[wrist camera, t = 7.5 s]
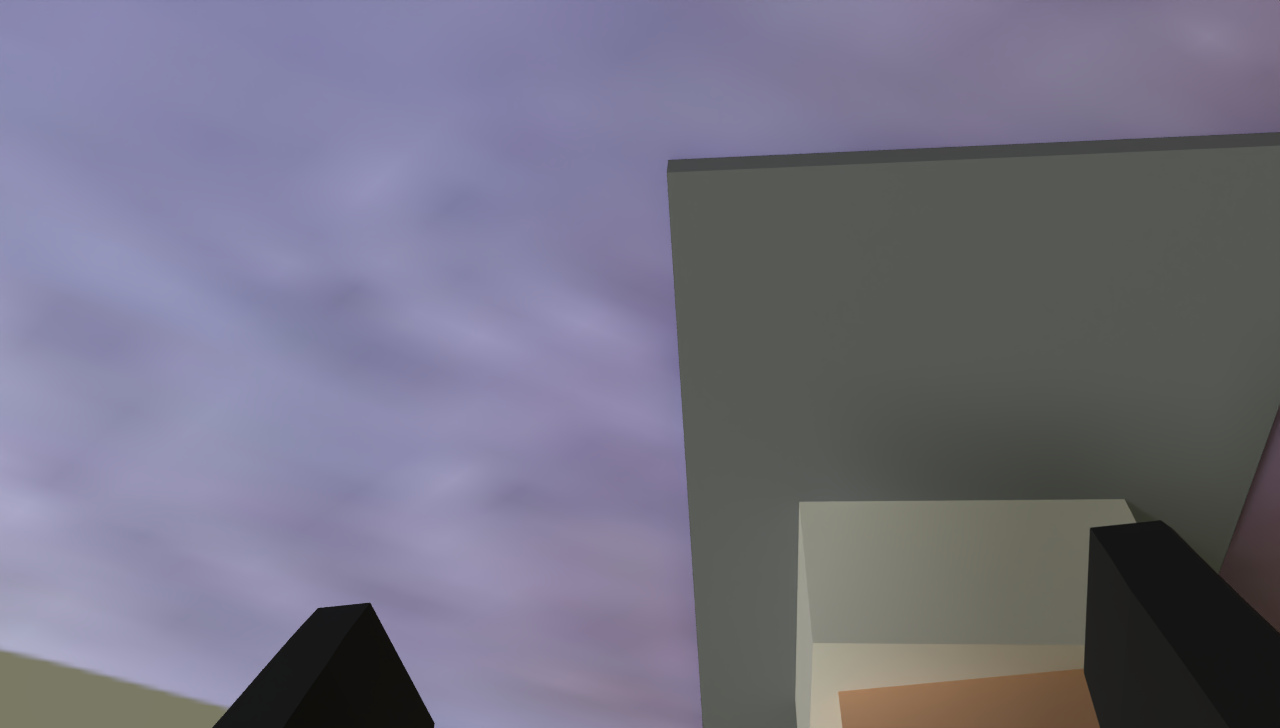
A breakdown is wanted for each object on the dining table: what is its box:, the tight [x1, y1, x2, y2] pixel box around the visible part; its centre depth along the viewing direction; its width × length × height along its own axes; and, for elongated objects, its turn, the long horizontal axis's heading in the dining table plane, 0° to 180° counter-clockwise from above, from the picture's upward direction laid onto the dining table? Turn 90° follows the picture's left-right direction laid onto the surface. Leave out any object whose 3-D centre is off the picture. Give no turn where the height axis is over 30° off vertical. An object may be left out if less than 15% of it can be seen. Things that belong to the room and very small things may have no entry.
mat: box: [667, 132, 1280, 728], centre depth 22 cm, size 12×18×1 cm, turn 4°
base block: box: [795, 499, 1136, 728], centre depth 22 cm, size 7×7×4 cm
